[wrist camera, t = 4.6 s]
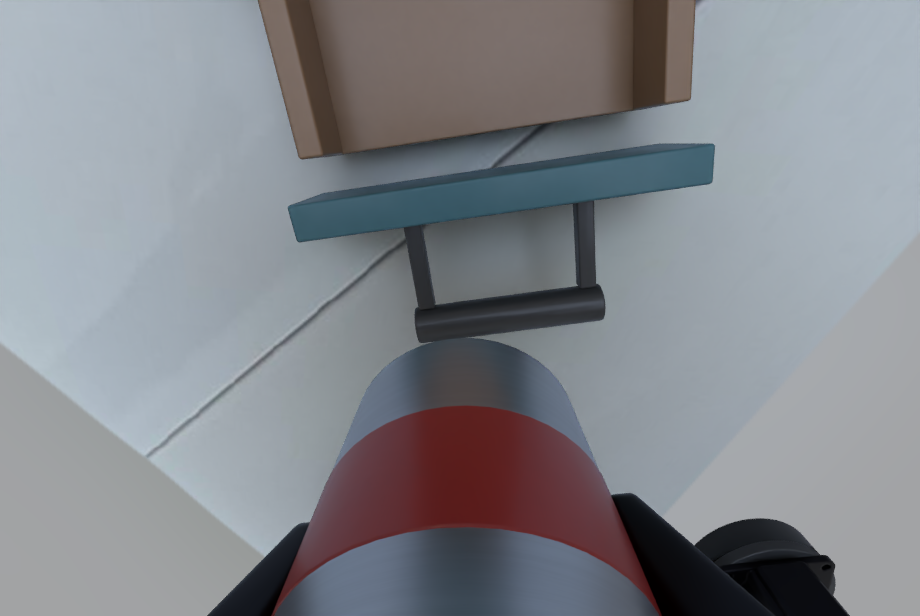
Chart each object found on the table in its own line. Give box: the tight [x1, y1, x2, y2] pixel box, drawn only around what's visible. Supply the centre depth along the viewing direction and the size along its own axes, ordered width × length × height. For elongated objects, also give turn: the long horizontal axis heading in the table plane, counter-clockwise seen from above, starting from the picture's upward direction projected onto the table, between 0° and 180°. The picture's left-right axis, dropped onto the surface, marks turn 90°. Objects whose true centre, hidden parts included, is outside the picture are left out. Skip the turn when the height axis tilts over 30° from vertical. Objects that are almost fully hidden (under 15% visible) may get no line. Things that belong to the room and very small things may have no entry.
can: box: [272, 338, 662, 616], centre depth 7 cm, size 5×5×7 cm
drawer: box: [258, 0, 715, 343], centre depth 14 cm, size 19×13×4 cm
